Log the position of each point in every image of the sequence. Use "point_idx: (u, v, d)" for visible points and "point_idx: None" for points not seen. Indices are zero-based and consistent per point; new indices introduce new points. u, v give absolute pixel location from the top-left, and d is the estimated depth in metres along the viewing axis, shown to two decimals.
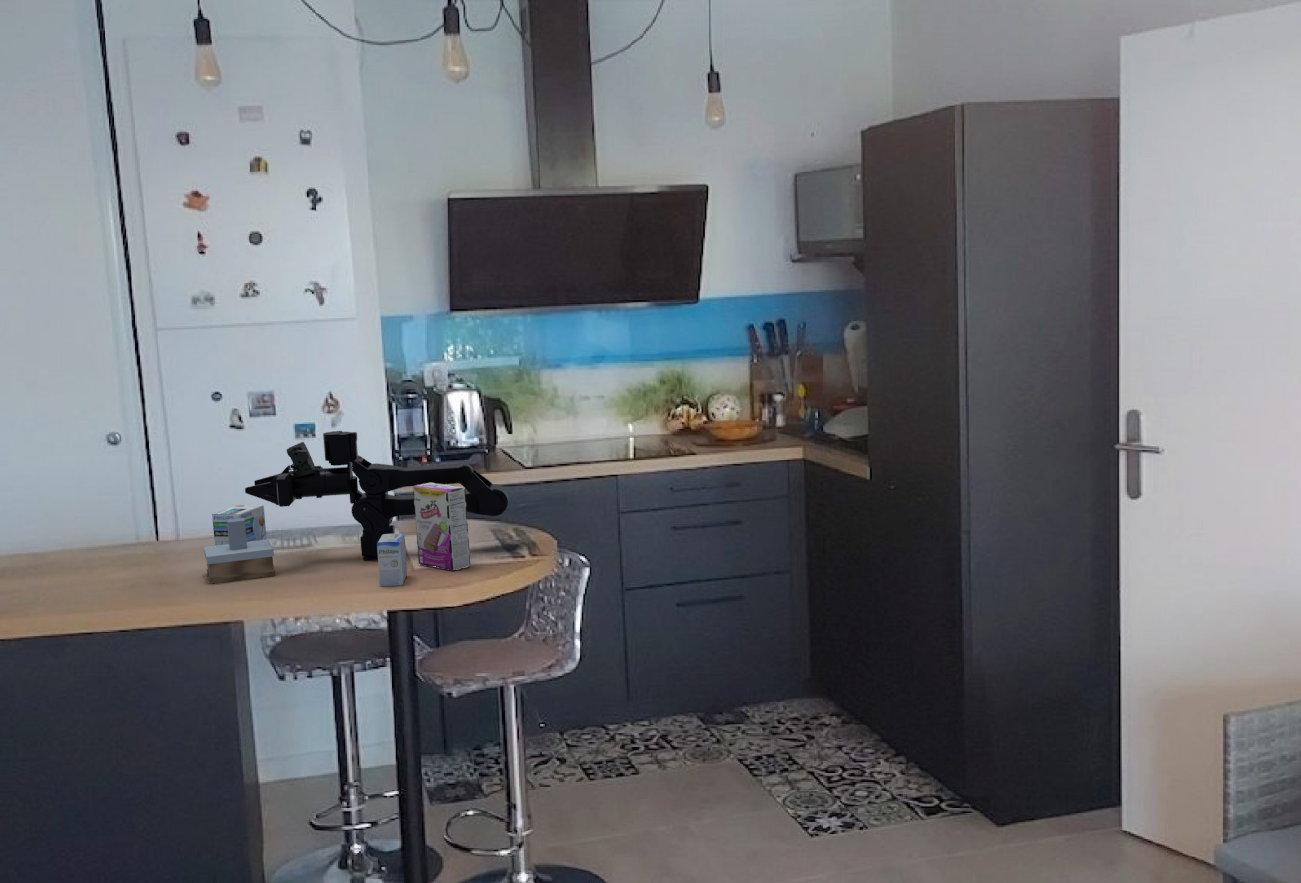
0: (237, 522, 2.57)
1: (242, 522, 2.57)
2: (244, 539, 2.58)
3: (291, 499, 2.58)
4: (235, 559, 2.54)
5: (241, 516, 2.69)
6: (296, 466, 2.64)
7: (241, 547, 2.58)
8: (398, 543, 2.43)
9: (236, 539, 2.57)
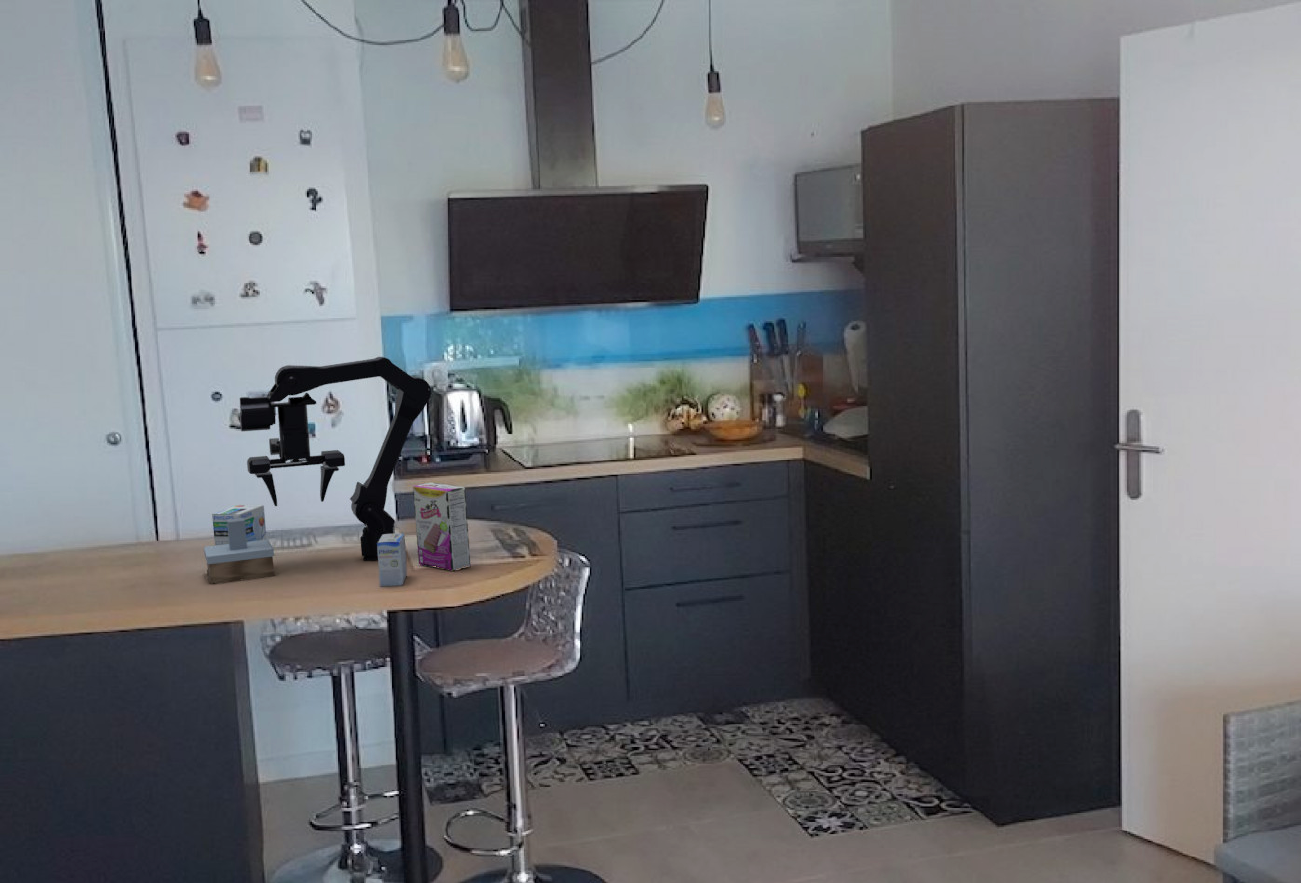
0: (237, 522, 2.57)
1: (242, 522, 2.57)
2: (244, 539, 2.58)
3: (250, 461, 2.57)
4: (235, 559, 2.54)
5: (241, 516, 2.69)
6: None
7: (241, 547, 2.58)
8: (398, 543, 2.43)
9: (236, 539, 2.57)
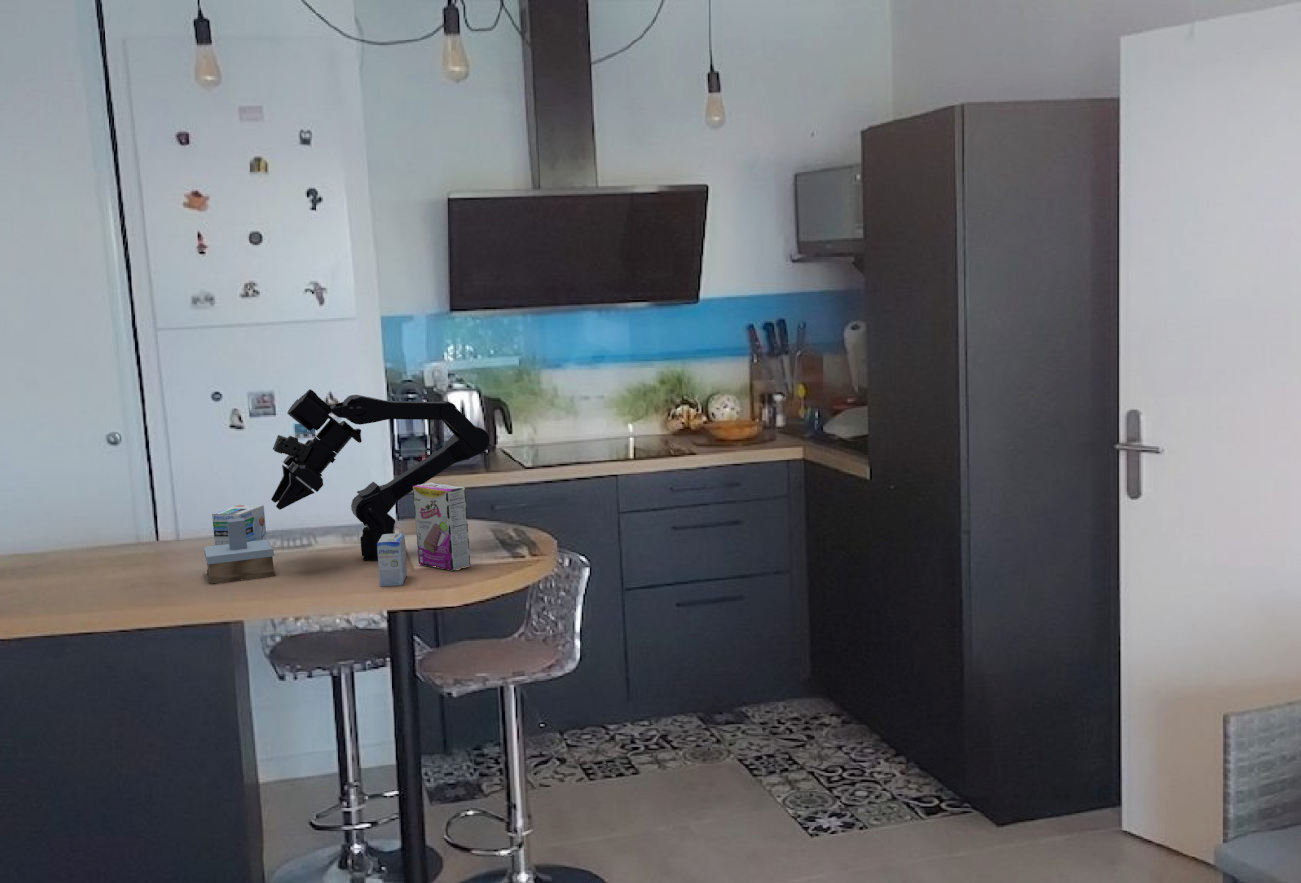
0: (237, 522, 2.57)
1: (242, 522, 2.57)
2: (244, 539, 2.58)
3: (320, 478, 2.55)
4: (235, 559, 2.54)
5: (241, 516, 2.69)
6: (294, 455, 2.59)
7: (241, 547, 2.58)
8: (398, 543, 2.43)
9: (236, 539, 2.57)
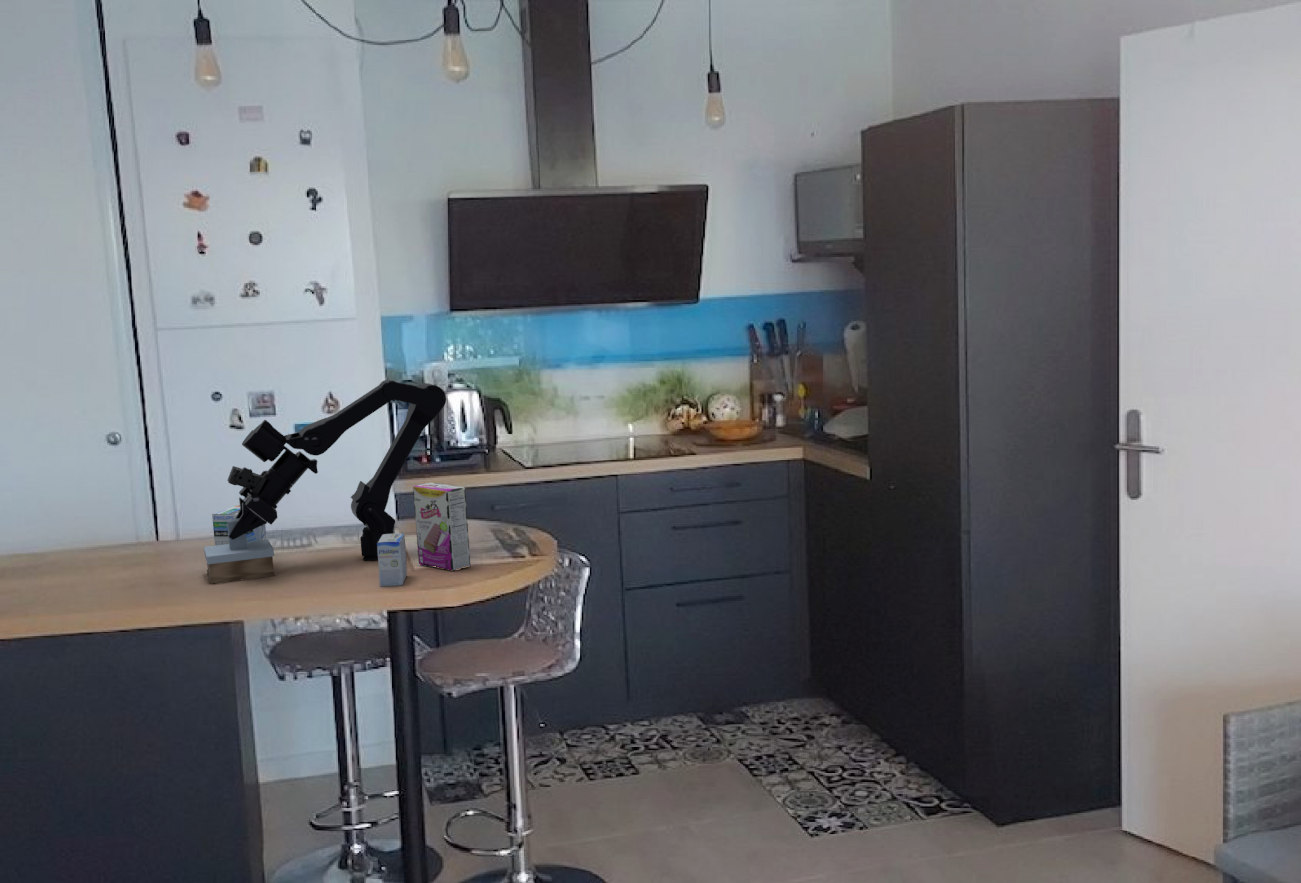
0: None
1: None
2: (244, 539, 2.58)
3: (274, 511, 2.52)
4: (235, 559, 2.54)
5: None
6: (249, 487, 2.56)
7: (241, 547, 2.58)
8: (398, 543, 2.43)
9: (236, 539, 2.57)
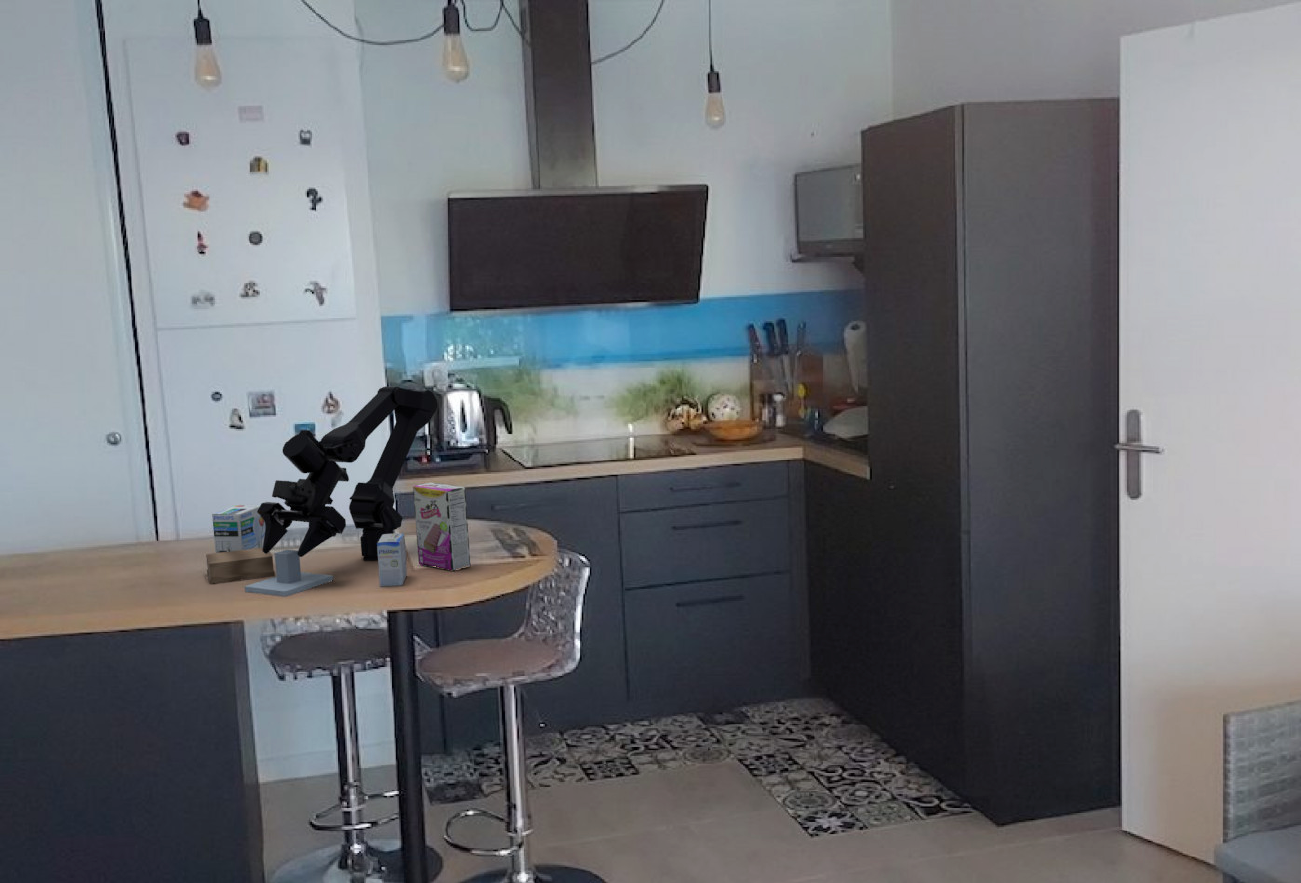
0: (293, 553, 2.46)
1: None
2: (299, 570, 2.48)
3: (344, 519, 2.48)
4: None
5: (241, 516, 2.69)
6: (302, 499, 2.47)
7: (296, 579, 2.47)
8: (398, 543, 2.43)
9: (293, 571, 2.47)
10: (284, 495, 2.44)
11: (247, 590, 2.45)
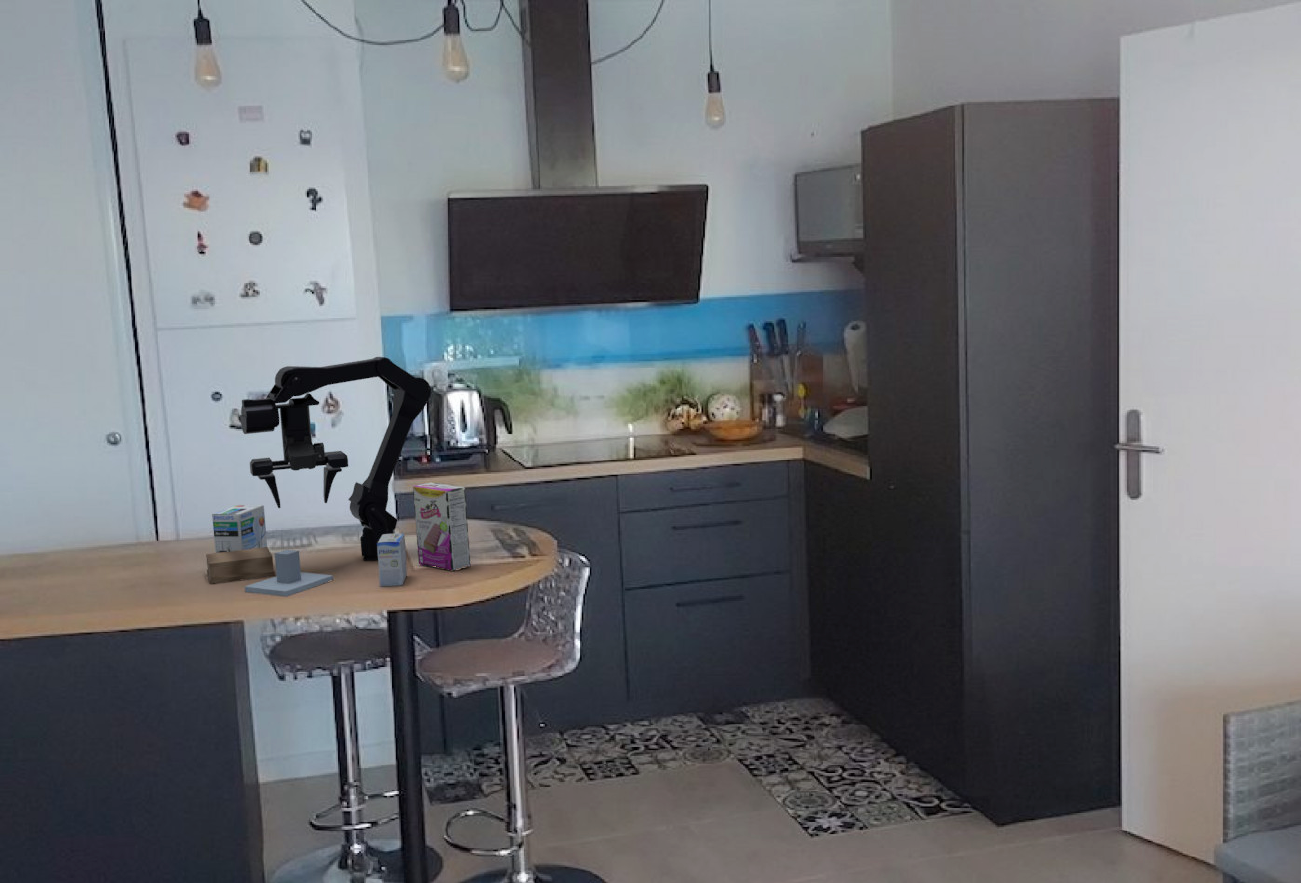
0: (293, 553, 2.46)
1: (297, 553, 2.47)
2: (299, 570, 2.48)
3: (342, 452, 2.65)
4: None
5: (241, 516, 2.69)
6: None
7: (296, 579, 2.47)
8: (398, 543, 2.43)
9: (293, 571, 2.47)
10: (311, 467, 2.53)
11: (247, 590, 2.45)
